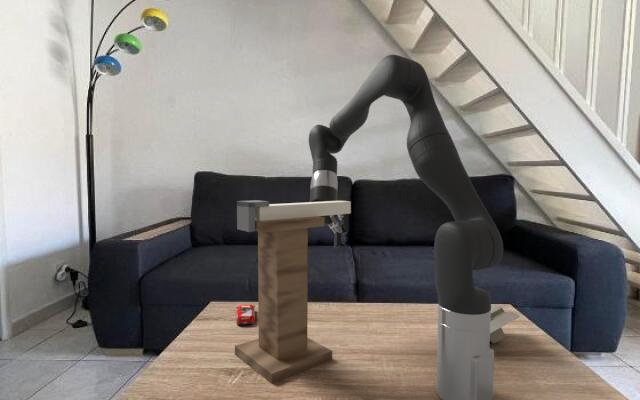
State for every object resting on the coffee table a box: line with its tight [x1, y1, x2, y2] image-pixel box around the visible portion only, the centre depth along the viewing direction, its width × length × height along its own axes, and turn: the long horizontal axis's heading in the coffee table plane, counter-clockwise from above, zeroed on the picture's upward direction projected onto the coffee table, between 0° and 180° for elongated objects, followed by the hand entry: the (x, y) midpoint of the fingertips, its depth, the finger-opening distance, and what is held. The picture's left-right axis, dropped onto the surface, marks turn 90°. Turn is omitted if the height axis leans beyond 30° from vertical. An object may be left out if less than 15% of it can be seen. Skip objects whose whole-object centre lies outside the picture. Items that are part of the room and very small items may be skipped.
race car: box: [235, 303, 256, 326], centre depth 113 cm, size 13×5×4 cm, turn 9°
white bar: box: [236, 199, 352, 233], centre depth 89 cm, size 5×29×6 cm, turn 129°
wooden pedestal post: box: [234, 216, 333, 384], centre depth 88 cm, size 16×16×32 cm
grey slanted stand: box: [490, 303, 521, 344], centre depth 97 cm, size 16×9×15 cm
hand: (321, 245), depth 102 cm, fingers open, 8 cm apart
